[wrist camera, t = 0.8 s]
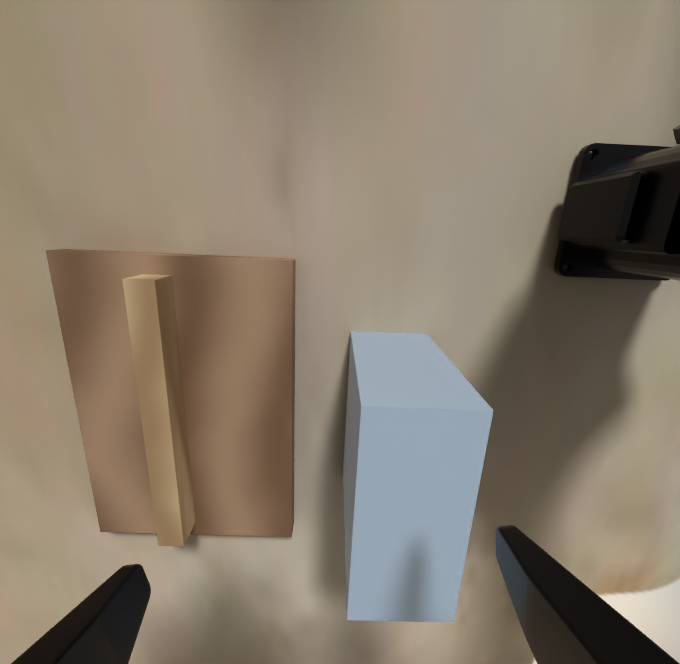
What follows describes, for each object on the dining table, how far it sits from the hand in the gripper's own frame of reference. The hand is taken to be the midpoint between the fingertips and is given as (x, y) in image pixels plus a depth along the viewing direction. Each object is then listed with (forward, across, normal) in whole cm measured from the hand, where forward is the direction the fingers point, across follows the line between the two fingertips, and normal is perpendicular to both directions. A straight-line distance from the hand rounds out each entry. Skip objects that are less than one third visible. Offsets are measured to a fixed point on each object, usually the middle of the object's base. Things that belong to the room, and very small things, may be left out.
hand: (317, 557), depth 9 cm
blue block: (+13, -3, +3) cm, 14 cm away
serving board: (+12, +9, +1) cm, 15 cm away
